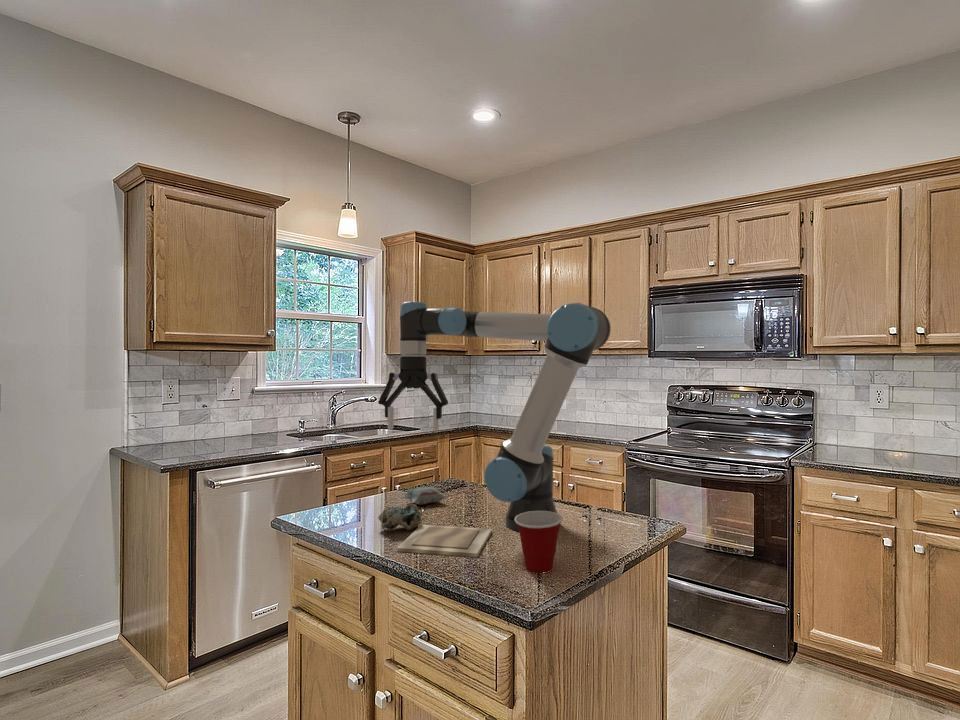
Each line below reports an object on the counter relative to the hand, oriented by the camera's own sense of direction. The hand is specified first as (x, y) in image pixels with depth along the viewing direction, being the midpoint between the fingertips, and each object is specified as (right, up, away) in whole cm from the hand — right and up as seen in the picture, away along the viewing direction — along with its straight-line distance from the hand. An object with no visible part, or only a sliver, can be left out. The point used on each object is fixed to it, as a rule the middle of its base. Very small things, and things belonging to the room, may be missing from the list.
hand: (413, 429), depth 166 cm
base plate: (+11, -27, -17) cm, 34 cm away
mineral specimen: (-4, -27, -7) cm, 28 cm away
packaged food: (-1, -28, +18) cm, 33 cm away
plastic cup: (+32, -27, -37) cm, 56 cm away
